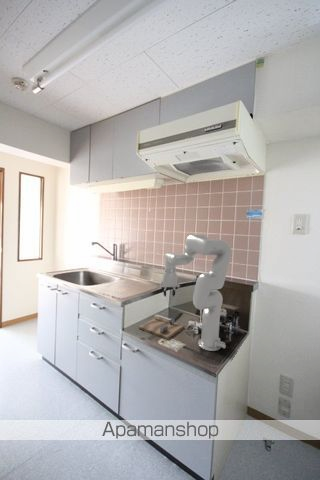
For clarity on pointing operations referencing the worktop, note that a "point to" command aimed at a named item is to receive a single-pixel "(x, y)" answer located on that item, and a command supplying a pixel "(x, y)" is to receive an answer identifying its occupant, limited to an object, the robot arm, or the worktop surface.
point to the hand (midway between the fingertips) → (169, 295)
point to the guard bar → (164, 319)
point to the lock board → (155, 325)
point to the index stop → (163, 329)
